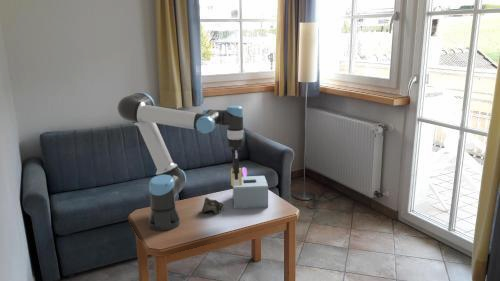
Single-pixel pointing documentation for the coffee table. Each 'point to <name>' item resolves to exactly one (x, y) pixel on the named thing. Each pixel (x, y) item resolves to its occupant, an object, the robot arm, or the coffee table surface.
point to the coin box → (251, 193)
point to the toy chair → (244, 172)
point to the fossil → (212, 206)
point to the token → (239, 177)
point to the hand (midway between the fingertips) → (236, 183)
